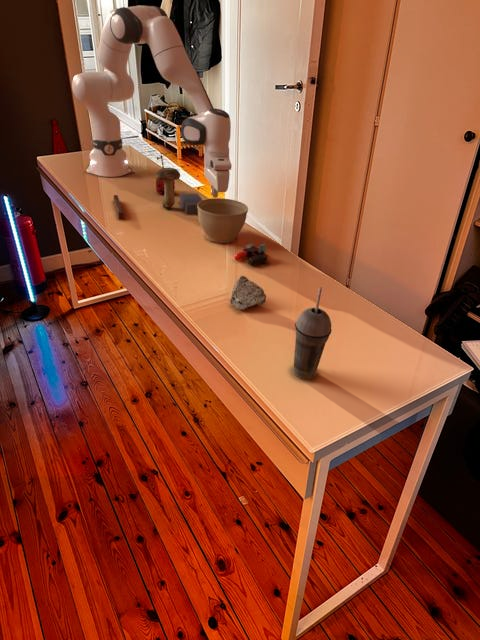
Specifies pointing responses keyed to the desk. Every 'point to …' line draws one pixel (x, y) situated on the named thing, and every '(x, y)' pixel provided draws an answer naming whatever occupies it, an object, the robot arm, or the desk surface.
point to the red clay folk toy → (161, 181)
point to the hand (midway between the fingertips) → (214, 196)
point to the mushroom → (168, 185)
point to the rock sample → (246, 294)
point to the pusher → (190, 203)
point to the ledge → (118, 207)
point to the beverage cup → (310, 340)
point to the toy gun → (253, 254)
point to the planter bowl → (221, 218)
